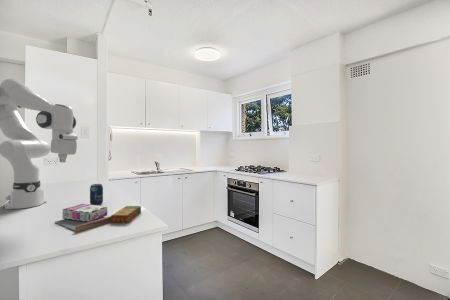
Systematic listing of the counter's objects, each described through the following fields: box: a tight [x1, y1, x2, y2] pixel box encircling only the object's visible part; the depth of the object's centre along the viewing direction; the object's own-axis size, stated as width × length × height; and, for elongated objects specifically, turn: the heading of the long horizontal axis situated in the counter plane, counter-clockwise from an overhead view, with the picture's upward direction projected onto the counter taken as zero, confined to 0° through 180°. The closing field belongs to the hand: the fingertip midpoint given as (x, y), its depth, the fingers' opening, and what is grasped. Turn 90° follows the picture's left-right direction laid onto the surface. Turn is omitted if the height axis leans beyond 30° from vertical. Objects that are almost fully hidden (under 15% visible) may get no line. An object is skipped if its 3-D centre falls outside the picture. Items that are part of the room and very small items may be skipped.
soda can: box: [89, 183, 104, 206], centre depth 135 cm, size 7×7×12 cm
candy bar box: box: [62, 203, 108, 222], centre depth 109 cm, size 11×5×16 cm
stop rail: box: [74, 215, 111, 233], centre depth 100 cm, size 1×16×2 cm, turn 149°
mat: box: [54, 216, 106, 232], centre depth 105 cm, size 19×16×1 cm
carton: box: [110, 205, 142, 224], centre depth 112 cm, size 8×16×4 cm, turn 0°
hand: (62, 162), depth 115 cm, fingers closed
